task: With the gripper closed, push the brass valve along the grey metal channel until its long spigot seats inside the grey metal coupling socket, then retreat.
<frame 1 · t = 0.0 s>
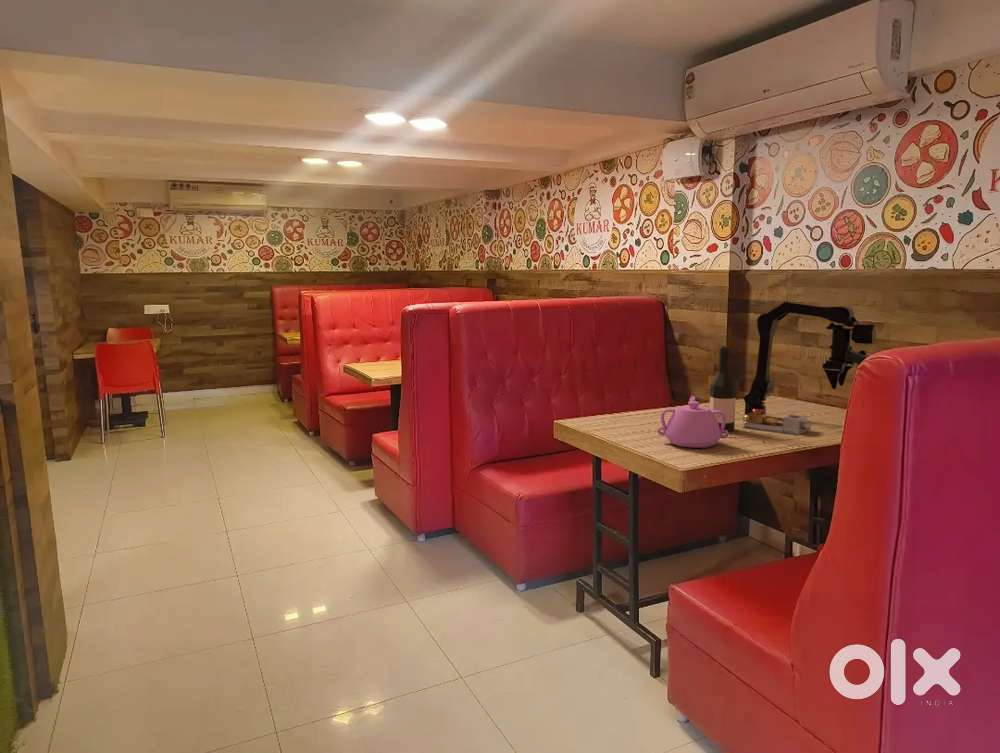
hand: (837, 387, 235), 15 cm above the table, fingers open, 9 cm apart
purple lidded pot: (691, 442, 219), on the table
wine bottle: (721, 433, 232), on the table
valve: (757, 426, 236), point 1 cm above the table, touching grey metal channel
grey metal channel: (774, 431, 233), on the table
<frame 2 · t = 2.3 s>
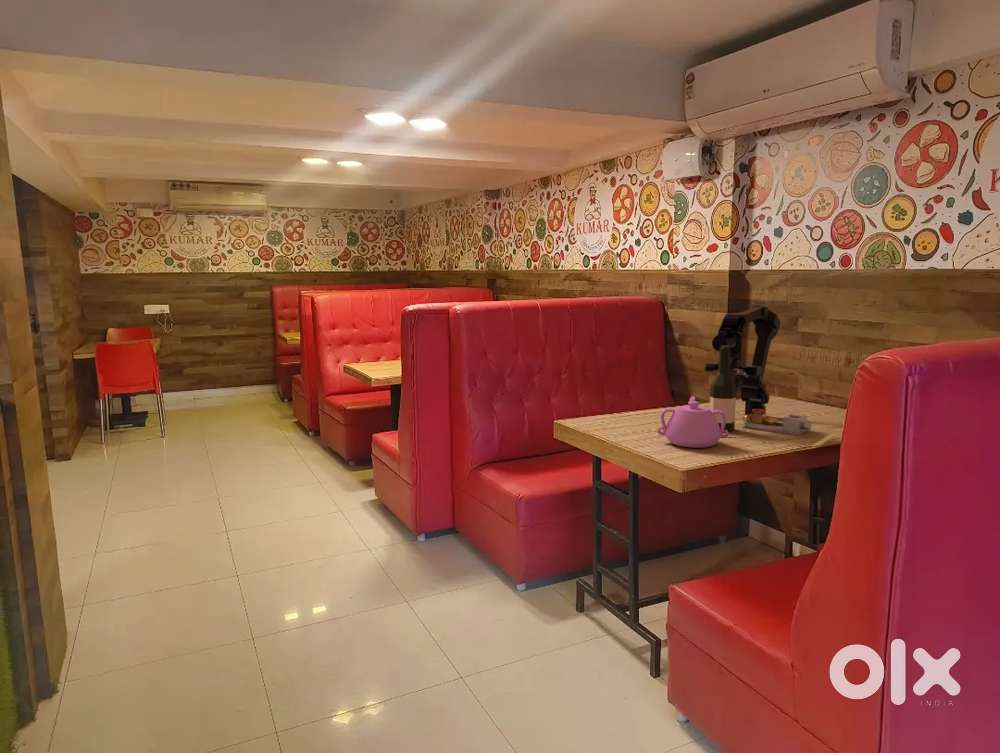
hand: (732, 392, 241), 12 cm above the table, fingers closed
nothing on the table moved.
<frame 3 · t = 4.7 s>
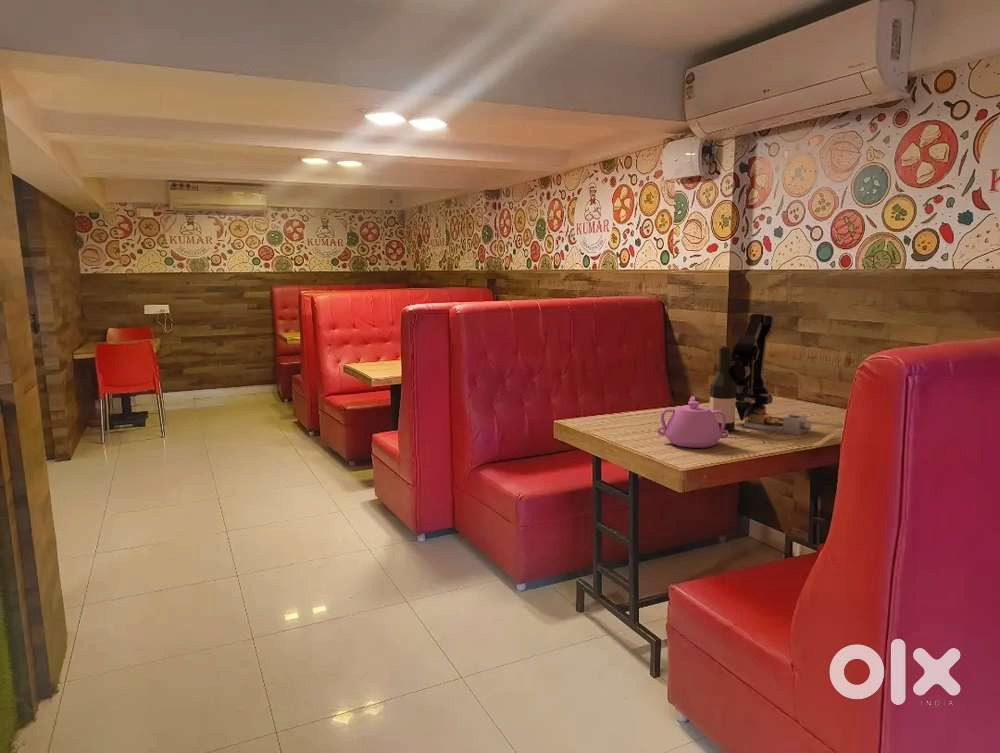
hand: (742, 420, 240), 2 cm above the table, fingers closed
valve: (759, 426, 236), point 1 cm above the table, touching gripper
everything else where it was.
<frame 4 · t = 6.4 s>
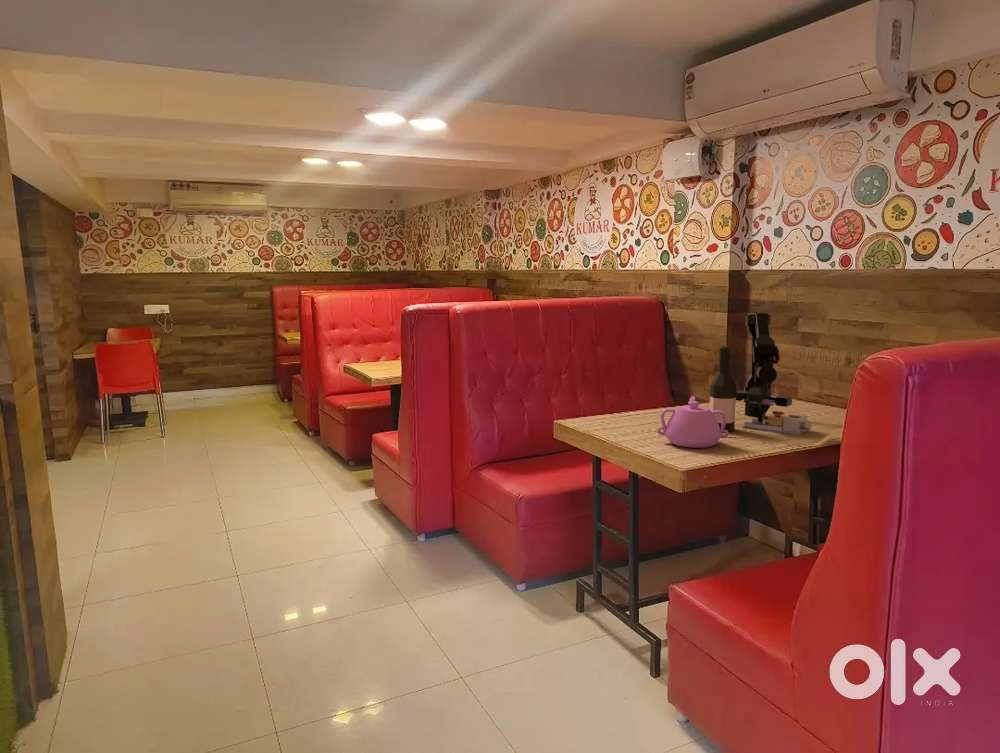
hand: (760, 422, 235), 2 cm above the table, fingers closed
valve: (777, 429, 232), point 1 cm above the table, touching gripper, grey metal channel
everything else where it was.
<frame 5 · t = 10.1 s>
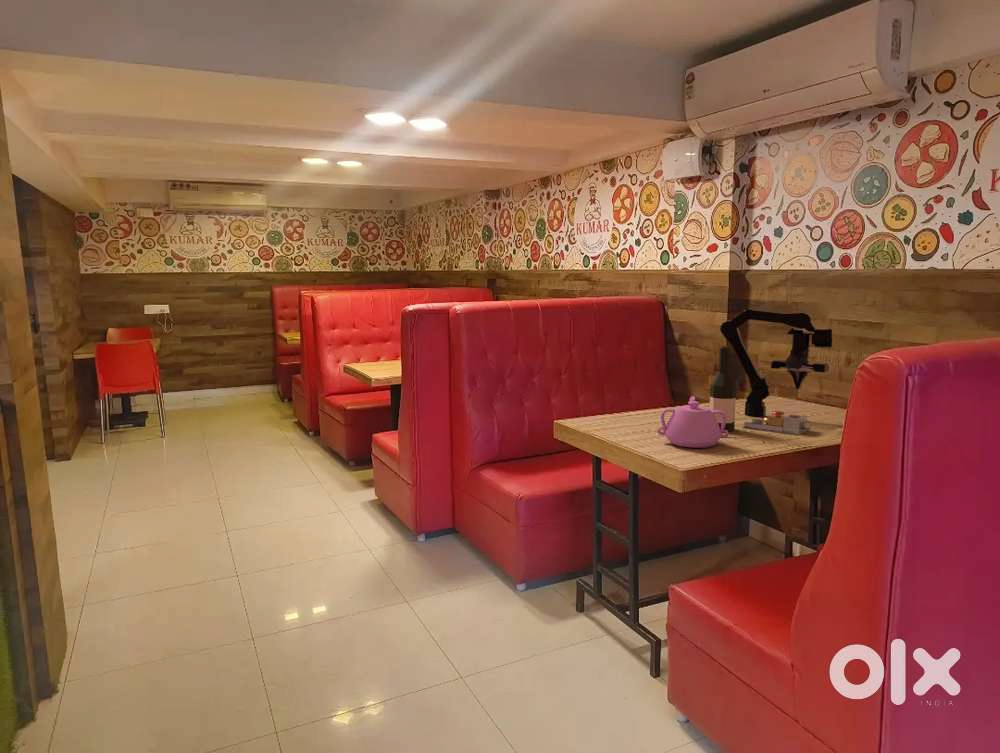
hand: (797, 389, 247), 12 cm above the table, fingers closed
valve: (777, 429, 232), point 1 cm above the table, touching grey metal channel
everything else where it was.
at the end: valve 0.3 cm from the target spot on the grey metal channel, point 1.0 cm above the grey metal channel's base; valve tilted 0° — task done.
